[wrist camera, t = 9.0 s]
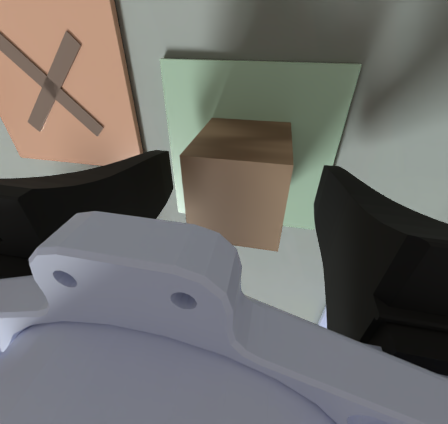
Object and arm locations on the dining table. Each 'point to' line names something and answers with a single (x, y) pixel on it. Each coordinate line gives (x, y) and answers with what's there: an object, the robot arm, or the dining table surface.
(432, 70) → the dining table surface
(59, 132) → the tile
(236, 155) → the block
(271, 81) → the tile
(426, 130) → the dining table surface
